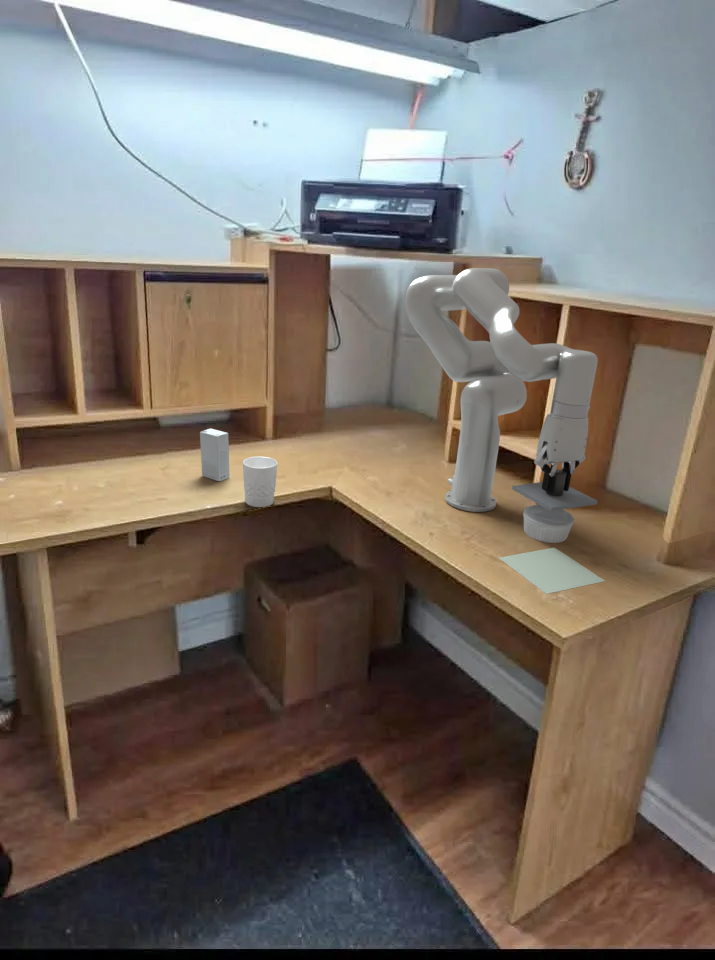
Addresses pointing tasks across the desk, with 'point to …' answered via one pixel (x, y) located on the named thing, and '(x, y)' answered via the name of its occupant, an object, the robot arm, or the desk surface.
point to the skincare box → (214, 454)
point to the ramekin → (547, 524)
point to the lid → (555, 494)
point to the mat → (551, 570)
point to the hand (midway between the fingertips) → (554, 489)
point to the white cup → (259, 480)
